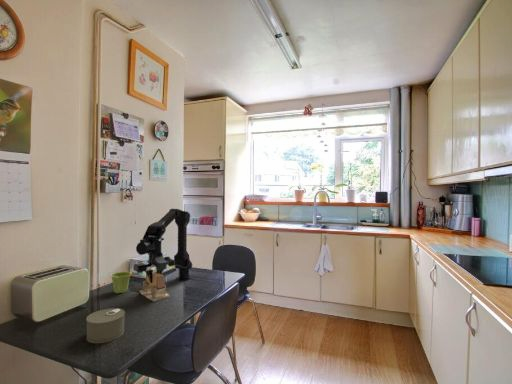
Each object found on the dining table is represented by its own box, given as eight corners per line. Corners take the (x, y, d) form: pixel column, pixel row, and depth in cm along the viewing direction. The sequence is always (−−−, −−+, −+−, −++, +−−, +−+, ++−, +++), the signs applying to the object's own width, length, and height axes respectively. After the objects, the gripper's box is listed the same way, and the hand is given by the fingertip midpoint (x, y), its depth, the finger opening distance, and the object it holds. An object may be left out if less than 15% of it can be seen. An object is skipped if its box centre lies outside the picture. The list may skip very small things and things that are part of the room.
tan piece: (139, 292, 135) (139, 281, 135) (155, 289, 141) (155, 278, 141) (153, 301, 125) (153, 289, 125) (169, 297, 131) (169, 285, 131)
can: (77, 339, 92) (77, 319, 92) (107, 323, 103) (108, 305, 103) (103, 346, 88) (104, 325, 88) (132, 329, 99) (132, 311, 99)
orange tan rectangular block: (145, 281, 137) (146, 271, 137) (151, 280, 139) (151, 269, 139) (157, 288, 127) (158, 276, 127) (163, 287, 130) (164, 275, 130)
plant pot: (105, 293, 134) (106, 275, 134) (121, 287, 143) (122, 270, 143) (119, 296, 131) (120, 278, 131) (135, 289, 140) (135, 273, 140)
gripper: (143, 256, 121) (142, 291, 121) (180, 250, 134) (180, 282, 134) (133, 252, 129) (132, 285, 129) (169, 247, 142) (169, 277, 142)
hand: (154, 282), depth 133 cm, fingers closed on orange tan rectangular block, 3 cm apart
